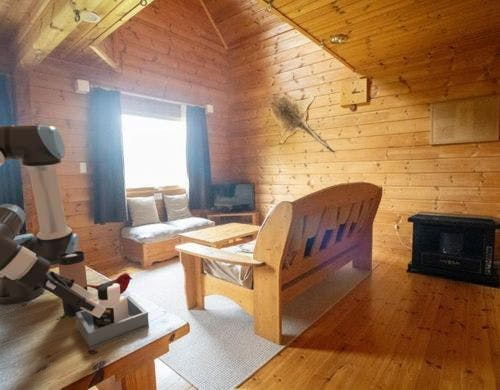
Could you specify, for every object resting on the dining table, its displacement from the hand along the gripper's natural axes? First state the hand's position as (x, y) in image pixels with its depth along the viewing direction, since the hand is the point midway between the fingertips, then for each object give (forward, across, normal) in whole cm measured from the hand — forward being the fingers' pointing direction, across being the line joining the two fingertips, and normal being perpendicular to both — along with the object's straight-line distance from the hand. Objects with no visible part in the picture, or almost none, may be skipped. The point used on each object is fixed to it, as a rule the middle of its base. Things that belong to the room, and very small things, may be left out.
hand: (95, 304), depth 87 cm
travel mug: (+5, -19, -7) cm, 21 cm away
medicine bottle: (+8, 0, -2) cm, 9 cm away
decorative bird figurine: (+13, -20, 0) cm, 24 cm away
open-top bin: (+9, 0, -3) cm, 9 cm away
